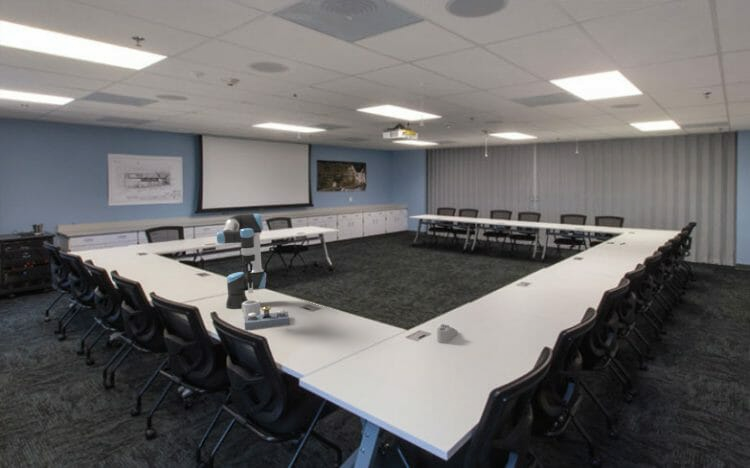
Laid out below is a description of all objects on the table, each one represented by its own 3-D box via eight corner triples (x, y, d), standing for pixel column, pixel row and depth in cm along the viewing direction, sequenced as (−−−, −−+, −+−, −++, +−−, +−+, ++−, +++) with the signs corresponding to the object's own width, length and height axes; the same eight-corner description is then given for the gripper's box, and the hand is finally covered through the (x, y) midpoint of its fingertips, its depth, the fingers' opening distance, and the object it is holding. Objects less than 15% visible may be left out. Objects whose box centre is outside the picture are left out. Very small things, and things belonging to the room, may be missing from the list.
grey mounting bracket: (458, 333, 231) (458, 319, 230) (445, 344, 216) (445, 329, 215) (448, 331, 234) (448, 318, 233) (435, 342, 219) (435, 327, 218)
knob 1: (248, 322, 255) (247, 313, 254) (257, 321, 256) (256, 312, 255) (248, 325, 250) (247, 315, 249) (257, 324, 251) (256, 314, 250)
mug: (264, 315, 272) (263, 300, 271) (252, 320, 262) (251, 304, 261) (248, 312, 277) (247, 298, 276) (236, 317, 268) (235, 302, 267)
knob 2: (276, 319, 259) (276, 310, 259) (285, 318, 261) (284, 309, 260) (277, 322, 255) (276, 312, 254) (285, 321, 256) (285, 311, 255)
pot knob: (262, 316, 257) (261, 306, 256) (270, 315, 258) (270, 305, 257) (262, 318, 252) (262, 308, 251) (271, 317, 253) (270, 307, 252)
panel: (245, 322, 258) (245, 316, 258) (287, 317, 266) (287, 311, 265) (245, 329, 245) (244, 323, 245) (289, 324, 252) (289, 318, 252)
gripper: (242, 253, 253) (244, 290, 256) (241, 256, 240) (244, 296, 243) (254, 252, 255) (257, 289, 258) (254, 255, 242) (257, 294, 245)
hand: (250, 292), depth 251 cm, fingers closed
